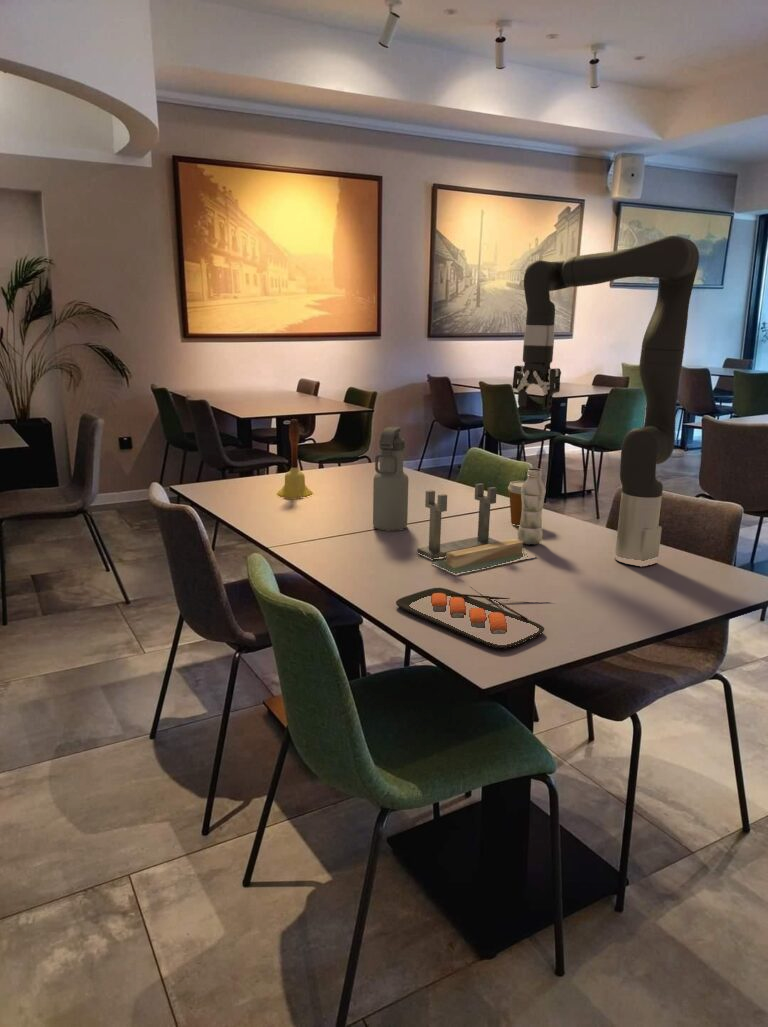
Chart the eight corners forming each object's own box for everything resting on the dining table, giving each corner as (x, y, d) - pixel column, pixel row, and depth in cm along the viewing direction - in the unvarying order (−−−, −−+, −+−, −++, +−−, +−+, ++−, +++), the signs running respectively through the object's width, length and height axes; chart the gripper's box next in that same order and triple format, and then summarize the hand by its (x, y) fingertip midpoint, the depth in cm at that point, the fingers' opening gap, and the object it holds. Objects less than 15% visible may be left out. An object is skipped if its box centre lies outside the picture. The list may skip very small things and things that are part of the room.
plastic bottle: (542, 541, 193) (548, 468, 188) (540, 548, 187) (546, 472, 182) (518, 539, 195) (523, 466, 190) (515, 546, 188) (520, 471, 183)
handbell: (279, 489, 247) (278, 416, 240) (315, 490, 246) (315, 417, 240) (273, 498, 235) (271, 421, 228) (310, 499, 234) (310, 422, 228)
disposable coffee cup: (524, 530, 203) (527, 489, 200) (498, 523, 210) (501, 483, 207) (545, 525, 209) (548, 484, 205) (520, 518, 216) (522, 479, 213)
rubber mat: (536, 557, 179) (536, 555, 179) (455, 575, 165) (455, 573, 165) (511, 548, 186) (511, 545, 186) (431, 564, 172) (431, 562, 172)
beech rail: (522, 553, 180) (522, 541, 180) (454, 568, 168) (454, 556, 168) (513, 550, 183) (514, 538, 182) (446, 564, 171) (446, 552, 170)
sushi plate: (389, 610, 146) (389, 592, 145) (485, 578, 166) (486, 562, 165) (501, 659, 126) (502, 639, 125) (595, 616, 145) (597, 599, 144)
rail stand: (499, 546, 187) (502, 486, 183) (431, 560, 175) (434, 496, 171) (483, 541, 192) (486, 482, 188) (417, 554, 180) (419, 491, 176)
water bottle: (400, 533, 198) (403, 432, 190) (367, 529, 201) (368, 429, 193) (411, 524, 207) (414, 427, 200) (379, 520, 210) (381, 425, 203)
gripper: (570, 344, 180) (564, 409, 184) (528, 342, 191) (524, 404, 195) (549, 344, 175) (544, 411, 180) (508, 342, 187) (504, 405, 191)
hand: (534, 407), depth 187 cm, fingers open, 8 cm apart
